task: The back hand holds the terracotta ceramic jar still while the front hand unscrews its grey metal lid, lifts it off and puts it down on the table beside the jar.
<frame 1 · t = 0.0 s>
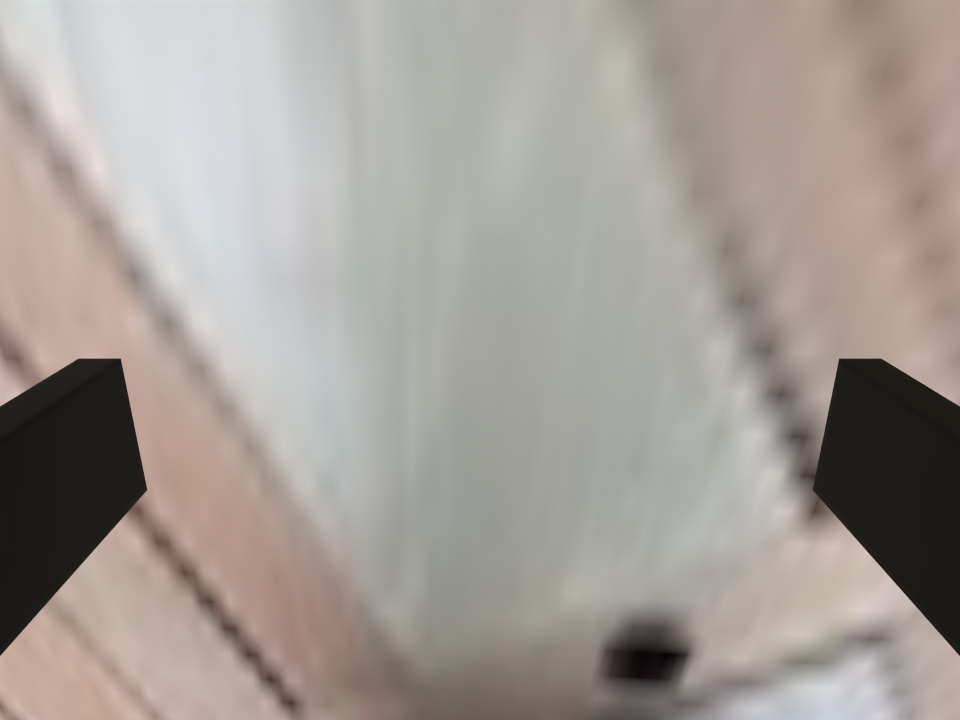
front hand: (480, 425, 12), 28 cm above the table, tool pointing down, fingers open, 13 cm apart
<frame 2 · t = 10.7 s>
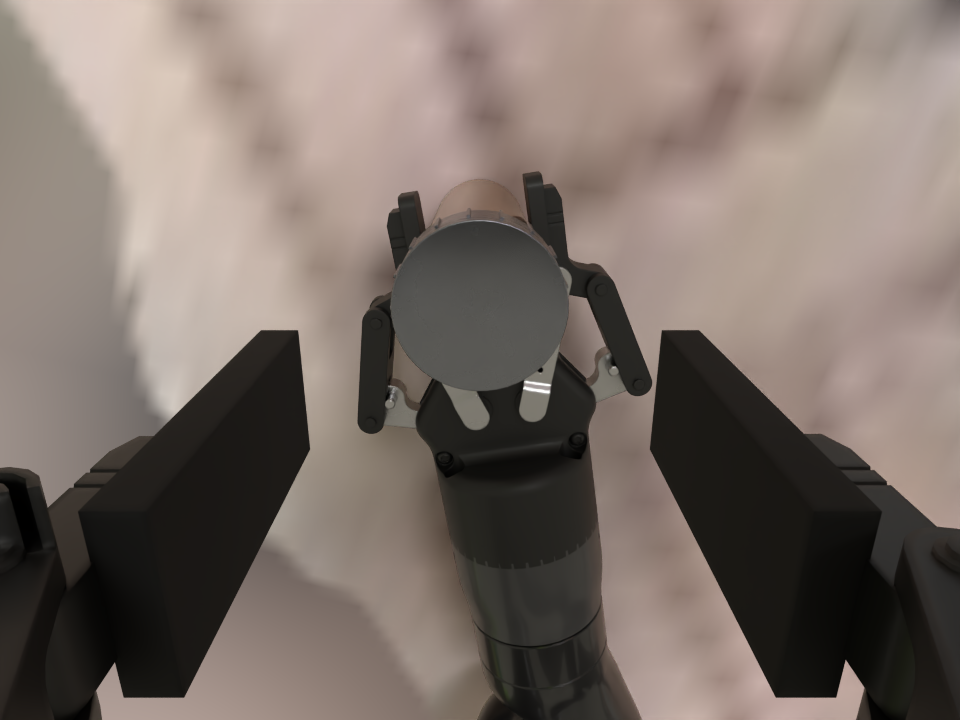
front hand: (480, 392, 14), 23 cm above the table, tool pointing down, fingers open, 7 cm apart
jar: (479, 224, 35), on the table, touching back hand
lid: (479, 306, 20), point 16 cm above the table, screwed on, not yet turned
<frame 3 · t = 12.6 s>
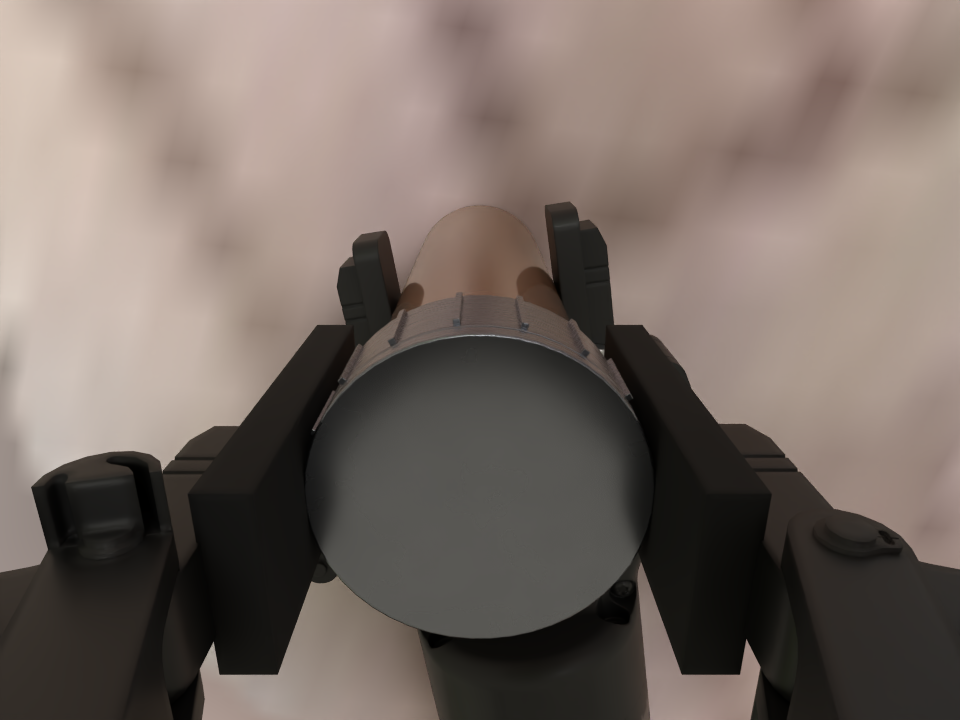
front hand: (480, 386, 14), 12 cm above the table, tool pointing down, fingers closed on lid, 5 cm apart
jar: (479, 266, 25), on the table, touching back hand
lid: (479, 488, 10), point 16 cm above the table, screwed on, not yet turned, touching front hand
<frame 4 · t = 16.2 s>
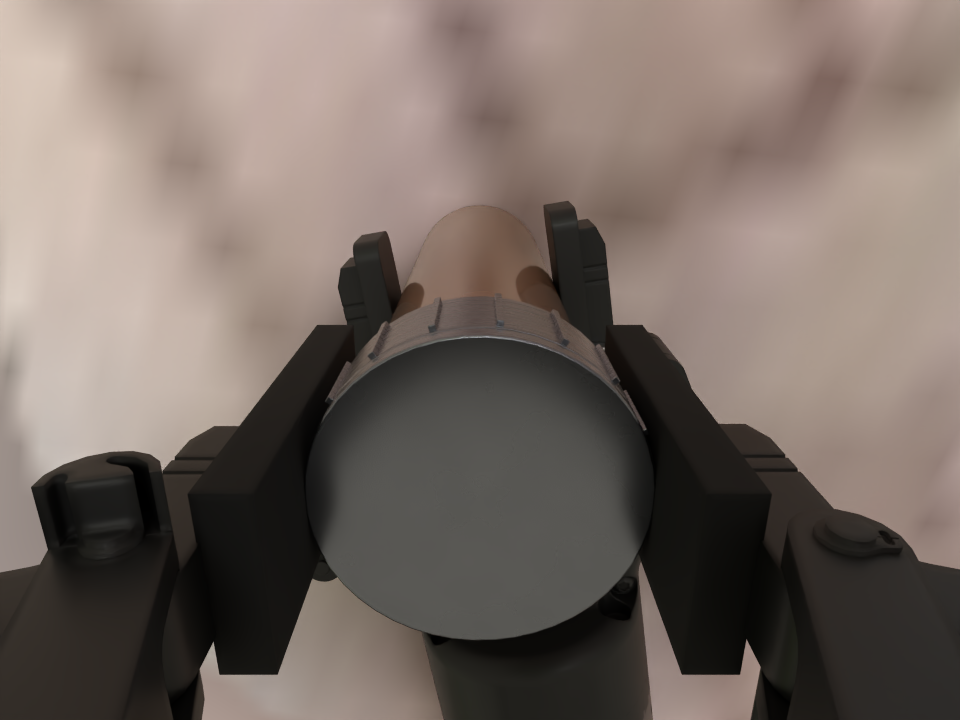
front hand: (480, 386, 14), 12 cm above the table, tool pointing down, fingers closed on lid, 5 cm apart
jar: (480, 266, 25), on the table, touching back hand
lid: (479, 490, 10), point 16 cm above the table, turned 113° so far, risen 0.2 cm, still on its thread, touching front hand
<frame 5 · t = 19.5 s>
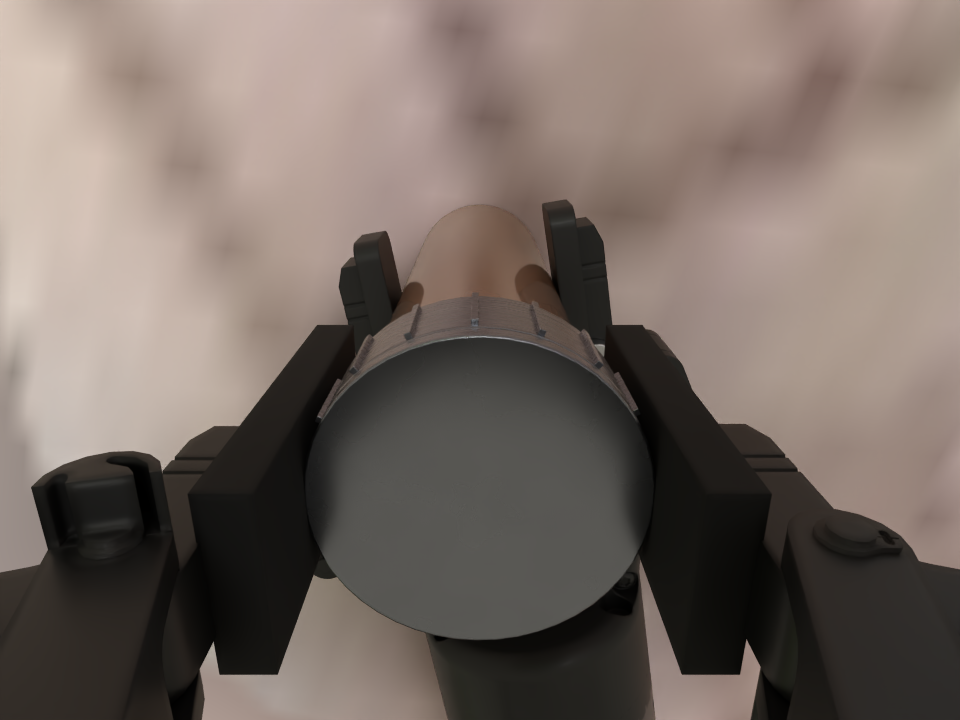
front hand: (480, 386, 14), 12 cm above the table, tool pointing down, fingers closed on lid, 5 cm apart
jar: (479, 265, 26), on the table, touching back hand
lid: (479, 489, 10), point 16 cm above the table, turned 226° so far, risen 0.3 cm, still on its thread, touching front hand
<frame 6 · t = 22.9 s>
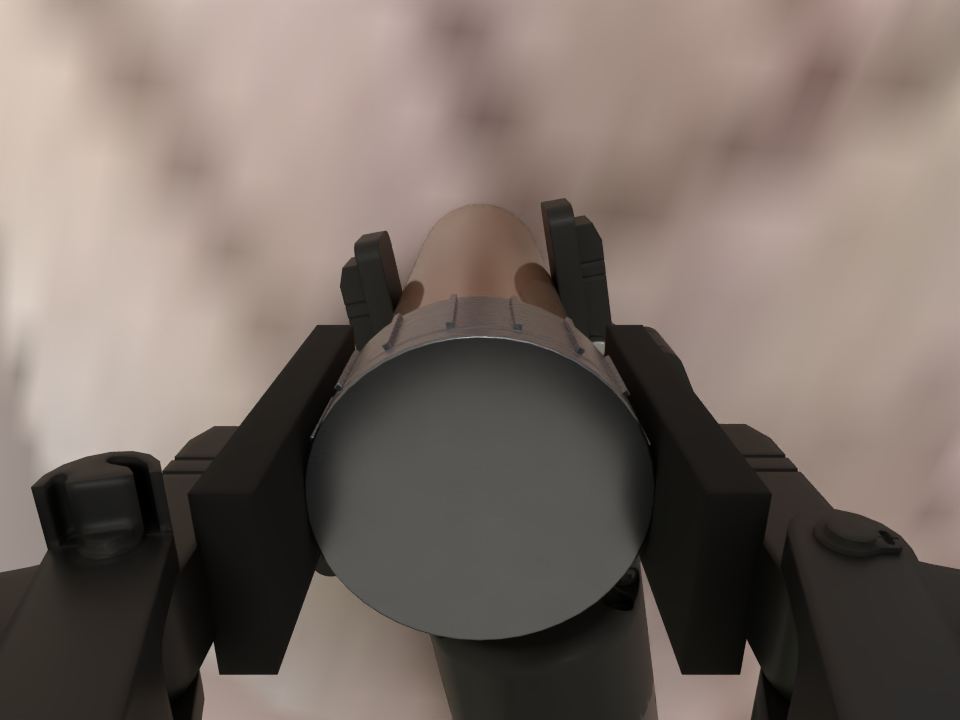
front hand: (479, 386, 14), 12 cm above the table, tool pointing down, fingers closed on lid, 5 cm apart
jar: (480, 264, 26), on the table, touching back hand
lid: (479, 490, 10), point 16 cm above the table, turned 340° so far, risen 0.5 cm, still on its thread, touching front hand
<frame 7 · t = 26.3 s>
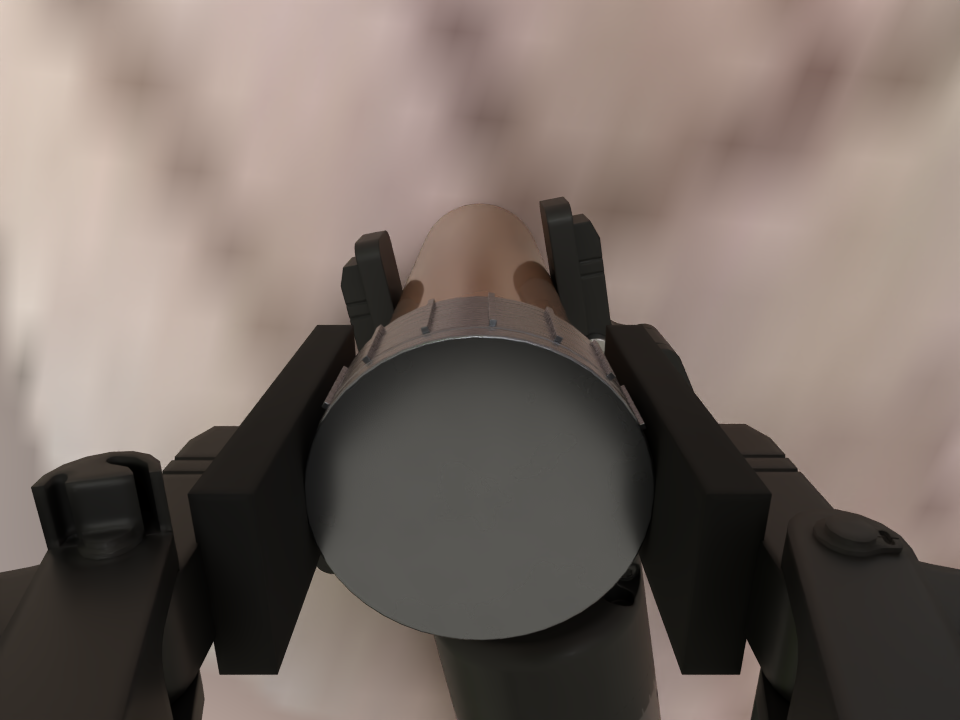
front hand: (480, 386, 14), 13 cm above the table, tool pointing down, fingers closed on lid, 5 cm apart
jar: (479, 263, 26), on the table, touching back hand
lid: (479, 489, 10), point 17 cm above the table, turned 453° so far, risen 0.7 cm, still on its thread, touching front hand
when the front hand's fingers open (0 cm above the table, at t = 33.8 s): lid drops 2 cm, point 2 cm above the table.
when the back hand's fingers open (7 cm above the table, at t = 34.4 s): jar stays where it is, on the table.
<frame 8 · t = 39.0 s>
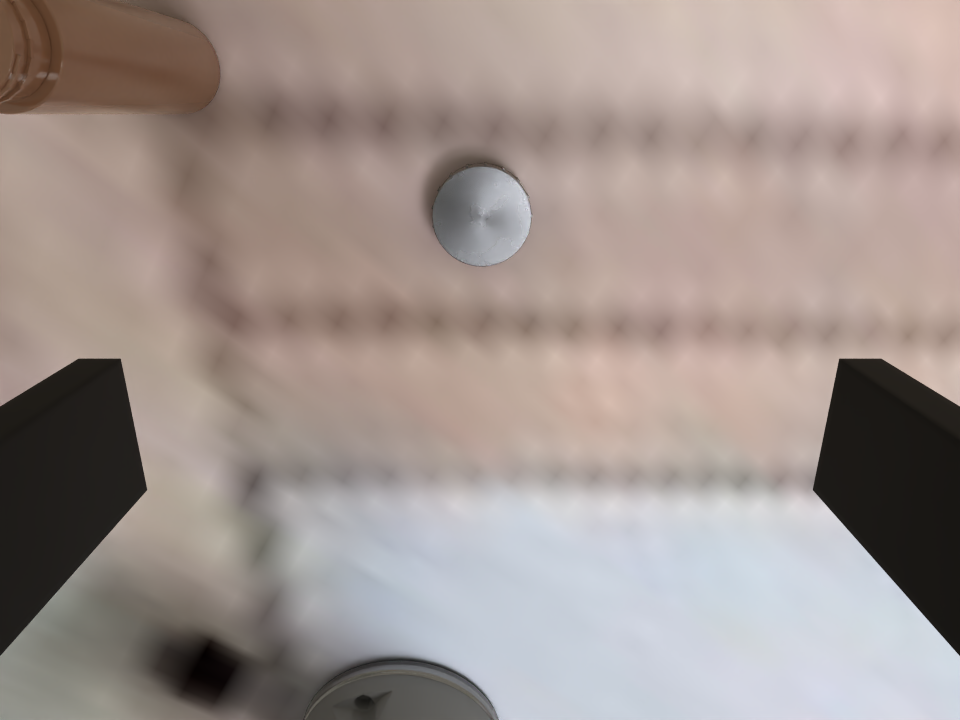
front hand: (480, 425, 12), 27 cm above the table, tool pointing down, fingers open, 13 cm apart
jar: (176, 67, 35), on the table
lid: (481, 216, 36), point 2 cm above the table, off its thread
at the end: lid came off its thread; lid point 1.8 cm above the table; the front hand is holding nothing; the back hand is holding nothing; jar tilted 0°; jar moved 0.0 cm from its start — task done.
